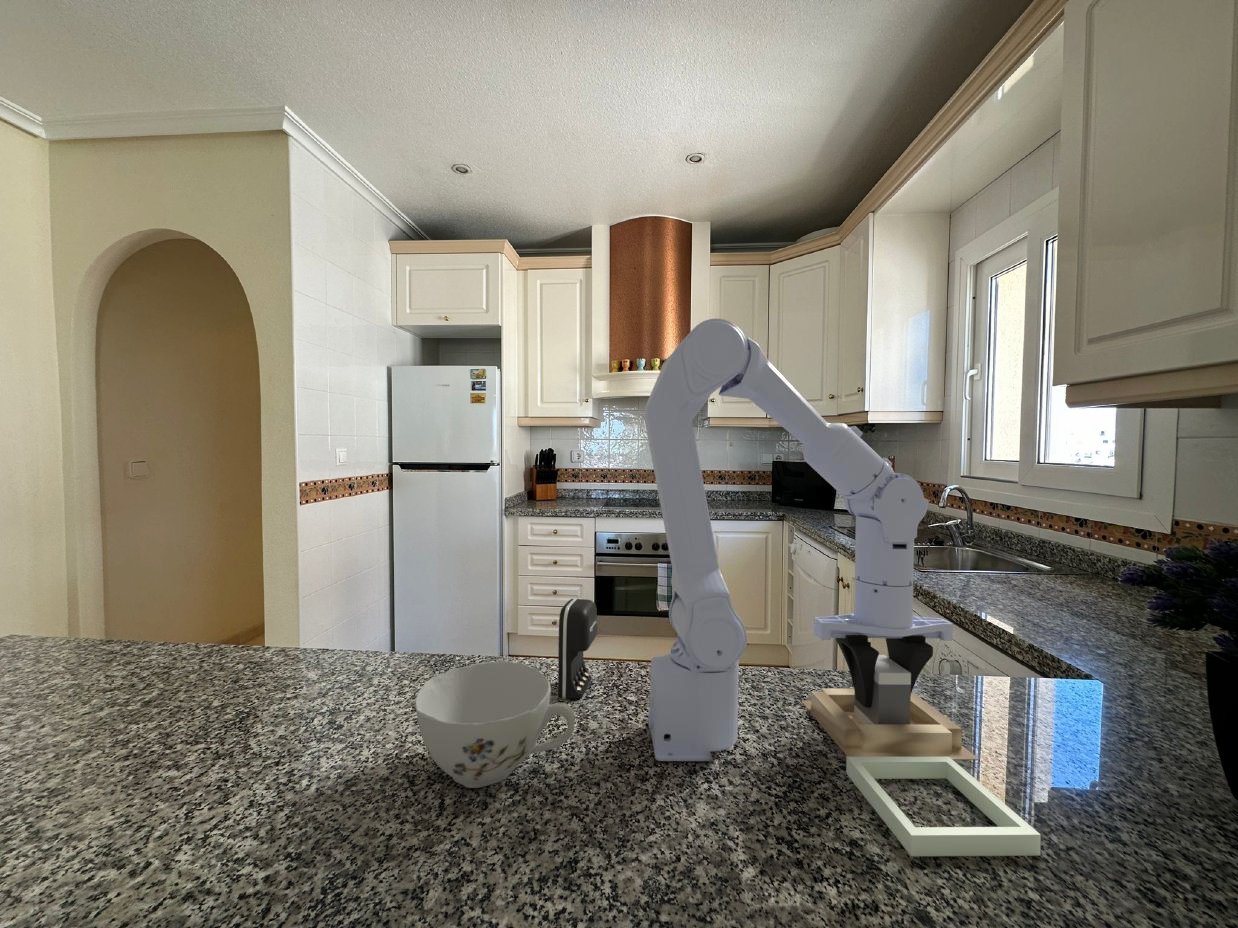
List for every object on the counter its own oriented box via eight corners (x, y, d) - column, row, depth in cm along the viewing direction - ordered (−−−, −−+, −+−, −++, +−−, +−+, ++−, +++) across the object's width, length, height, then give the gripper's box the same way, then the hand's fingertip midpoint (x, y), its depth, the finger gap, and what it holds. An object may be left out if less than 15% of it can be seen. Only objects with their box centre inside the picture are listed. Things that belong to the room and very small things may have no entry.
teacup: (384, 808, 42) (386, 714, 42) (449, 729, 54) (450, 657, 54) (558, 824, 40) (560, 726, 40) (584, 739, 53) (585, 665, 53)
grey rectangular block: (878, 739, 52) (879, 672, 52) (854, 715, 57) (855, 654, 57) (909, 739, 52) (911, 673, 52) (883, 715, 57) (884, 654, 57)
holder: (849, 769, 48) (850, 738, 48) (801, 708, 60) (801, 684, 60) (979, 769, 49) (979, 738, 49) (905, 708, 61) (905, 684, 61)
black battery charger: (586, 703, 61) (588, 610, 61) (556, 700, 61) (558, 608, 61) (598, 679, 68) (599, 596, 68) (571, 676, 68) (572, 594, 68)
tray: (911, 868, 36) (911, 835, 36) (846, 783, 46) (846, 756, 46) (1040, 867, 37) (1040, 834, 37) (948, 782, 47) (948, 756, 47)
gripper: (924, 573, 59) (922, 686, 59) (803, 571, 58) (802, 686, 58) (967, 587, 52) (965, 717, 52) (831, 586, 51) (829, 717, 51)
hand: (881, 703), depth 55 cm, fingers closed on grey rectangular block, 3 cm apart
